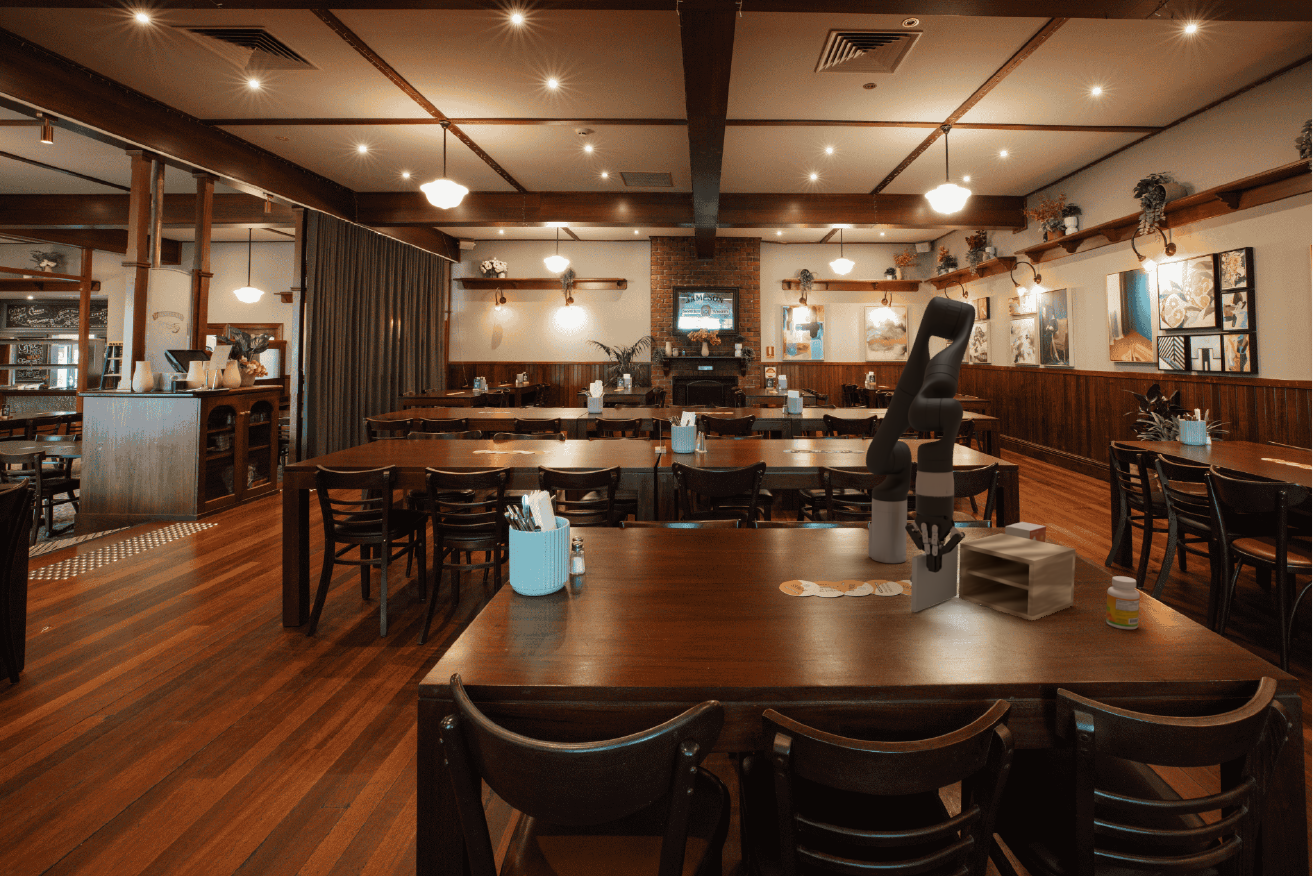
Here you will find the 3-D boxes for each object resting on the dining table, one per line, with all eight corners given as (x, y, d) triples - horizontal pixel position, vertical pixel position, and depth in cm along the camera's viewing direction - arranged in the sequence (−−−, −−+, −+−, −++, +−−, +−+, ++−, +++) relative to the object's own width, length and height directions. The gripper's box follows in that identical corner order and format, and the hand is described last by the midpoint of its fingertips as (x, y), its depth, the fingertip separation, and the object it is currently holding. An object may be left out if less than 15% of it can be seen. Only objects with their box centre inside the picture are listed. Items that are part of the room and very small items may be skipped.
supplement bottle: (1105, 618, 138) (1108, 573, 137) (1137, 623, 135) (1140, 577, 134) (1105, 626, 134) (1108, 580, 133) (1138, 632, 131) (1141, 584, 130)
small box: (1028, 582, 162) (1030, 530, 161) (1002, 575, 167) (1004, 525, 166) (1044, 576, 166) (1046, 525, 165) (1019, 570, 172) (1021, 521, 170)
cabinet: (958, 598, 152) (960, 543, 150) (999, 585, 160) (1001, 533, 159) (1032, 621, 137) (1034, 560, 136) (1072, 606, 145) (1075, 548, 144)
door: (946, 593, 154) (948, 543, 153) (956, 595, 152) (958, 545, 151) (906, 609, 144) (907, 555, 143) (916, 612, 142) (917, 558, 141)
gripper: (974, 493, 137) (973, 574, 138) (916, 486, 147) (915, 561, 149) (955, 498, 132) (954, 581, 134) (896, 490, 143) (896, 568, 144)
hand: (933, 571), depth 141 cm, fingers closed
